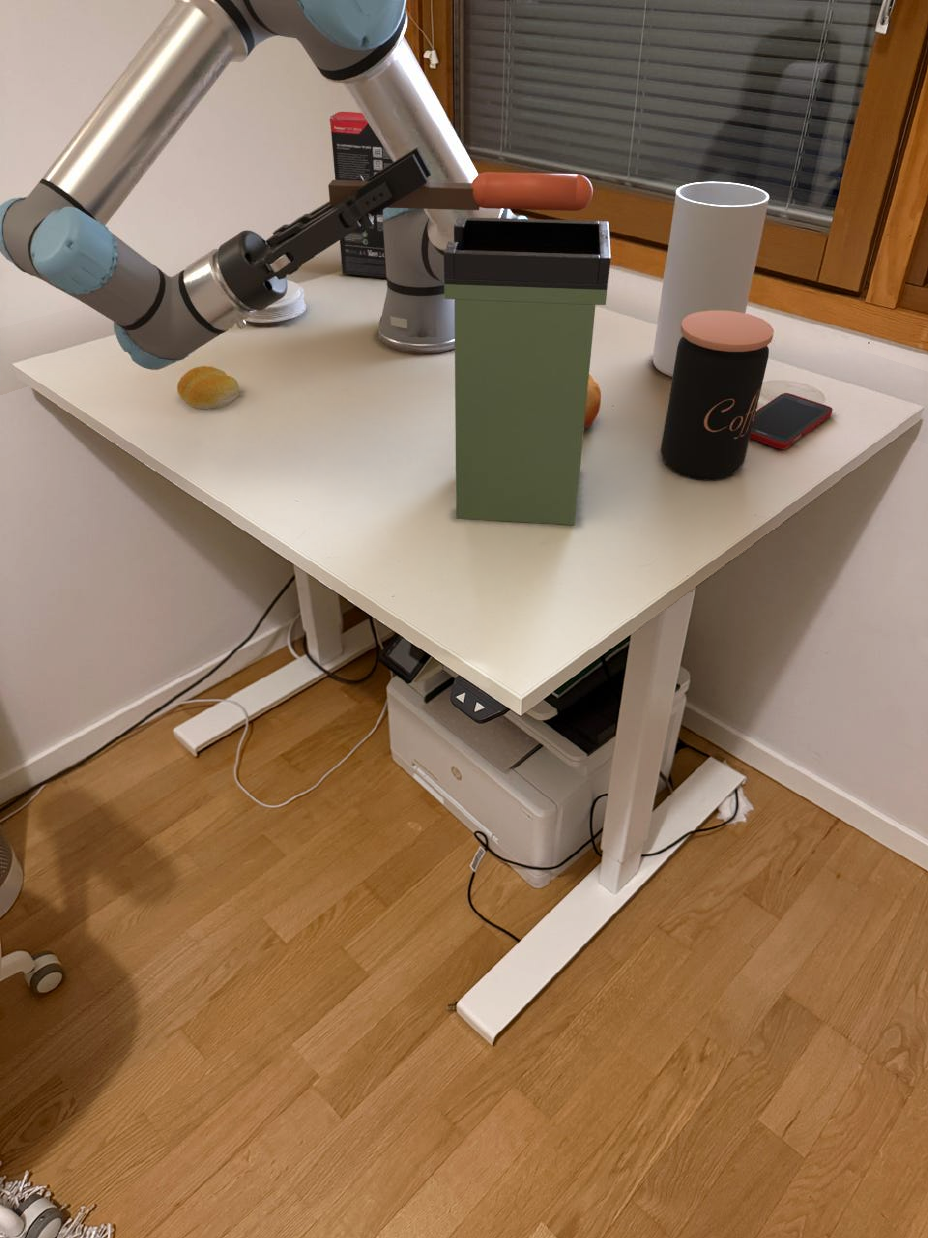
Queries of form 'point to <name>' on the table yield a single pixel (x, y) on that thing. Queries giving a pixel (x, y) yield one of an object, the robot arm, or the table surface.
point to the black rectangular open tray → (528, 253)
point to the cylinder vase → (708, 257)
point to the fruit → (592, 402)
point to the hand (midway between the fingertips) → (421, 164)
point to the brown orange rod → (488, 192)
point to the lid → (282, 306)
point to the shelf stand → (520, 399)
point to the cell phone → (787, 420)
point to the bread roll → (207, 388)
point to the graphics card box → (364, 157)
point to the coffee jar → (714, 393)
